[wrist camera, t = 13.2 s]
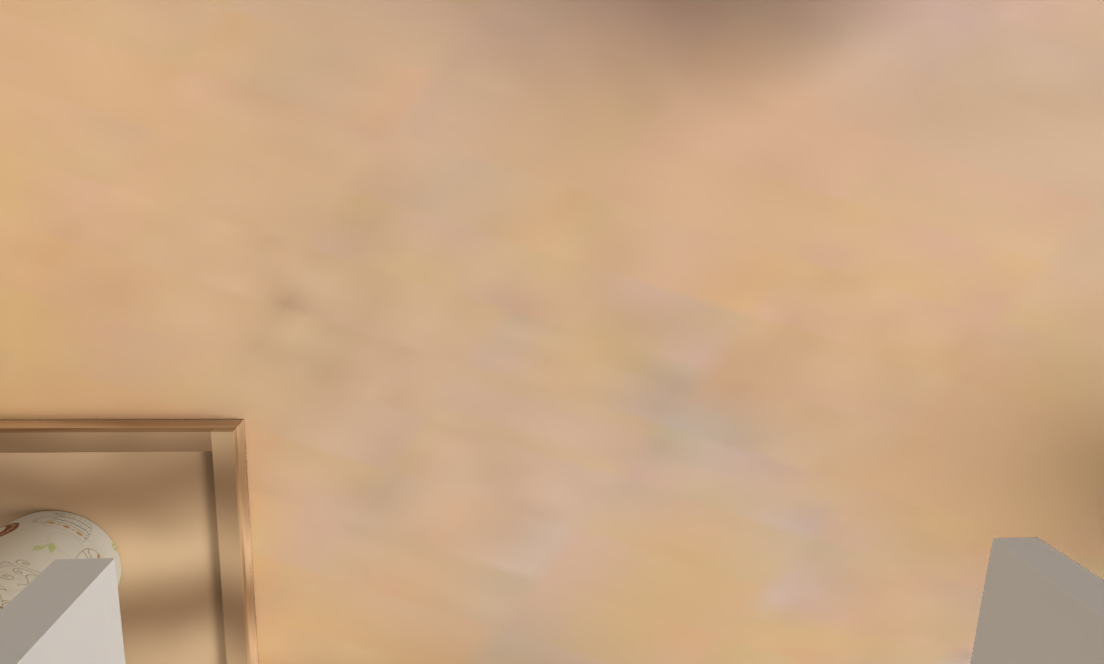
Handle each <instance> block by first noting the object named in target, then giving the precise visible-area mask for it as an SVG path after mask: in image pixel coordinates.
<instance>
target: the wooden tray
mask: <svg viewBox="0 0 1104 664" xmlns="http://www.w3.org/2000/svg"><path fill="white" fill-rule="evenodd" d="M41 511H63V512H68V513H73V514H76V515H79V516H82V517H84V518H86V519H88V520H90V521H92V522H93V523H95V524H96V525H97V526H99V527H100V528H101V529H102V530H103V531H104V532H106V534H107V535H108V536H109V537H110V538H111V540H112V541H113V543H114V544H115V546H116V548H117V551H118V553H119V556H120V561H121V578H120V582H119V585H118V595H119V605H120V615H121V624H122V634H123V644H124V654H125V664H258V651H257V633H256V616H255V599H254V582H253V564H252V547H251V530H250V513H249V495H248V478H247V461H246V444H245V427H244V419H184V420H0V528H1V527H3V526H5V525H6V524H8V523H10V522H12V521H14V520H16V519H18V518H20V517H23V516H25V515H28V514H32V513H36V512H41Z"/></svg>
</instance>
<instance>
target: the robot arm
mask: <svg viewBox="0 0 1104 664" xmlns="http://www.w3.org/2000/svg"><path fill="white" fill-rule="evenodd" d="M0 664H125V654H124V644H123V634H122V624H121V615H120V605H119V595H118V585H117V576H116V566H115V558H93V559H55V560H54V561H53V562H52V563H51V564H50V565H49V566H48V567H47V568H46V569H44V570H43V571H42V572H41V573H40V574H39V575H38V576H37V577H36V578H35V579H34V580H33V581H32V582H30V583H29V584H28V585H27V586H26V587H25V588H24V589H23V590H22V591H21V592H20V593H19V594H18V595H16V596H15V597H14V598H13V599H12V600H11V601H10V602H9V603H8V604H7V605H6V606H5V607H4V608H2V609H1V610H0ZM971 664H1104V580H1103V579H1101V578H1100V577H1098V576H1097V575H1095V574H1093V573H1092V572H1090V571H1089V570H1087V569H1086V568H1084V567H1083V566H1081V565H1080V564H1078V563H1076V562H1075V561H1073V560H1072V559H1070V558H1069V557H1067V556H1066V555H1064V554H1062V553H1061V552H1059V551H1058V550H1056V549H1055V548H1053V547H1052V546H1050V545H1049V544H1047V543H1045V542H1044V541H1042V540H1041V539H1039V538H1038V537H1029V538H993V542H992V547H991V553H990V558H989V564H988V569H987V575H986V580H985V586H984V592H983V597H982V603H981V608H980V614H979V619H978V625H977V631H976V636H975V642H974V647H973V653H972V658H971Z"/></svg>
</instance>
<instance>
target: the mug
mask: <svg viewBox="0 0 1104 664" xmlns="http://www.w3.org/2000/svg"><path fill="white" fill-rule="evenodd" d="M93 558H115V566H116V576H117V585H119V582H120V578H121V561H120V556H119V553H118V551H117V548H116V546H115V544H114V543H113V541H112V540H111V538H110V537H109V536H108V535H107V534H106V532H104V531H103V530H102V529H101V528H100V527H99V526H97V525H96V524H95V523H93V522H92V521H90V520H88V519H86V518H84V517H82V516H79V515H76V514H73V513H68V512H63V511H41V512H36V513H32V514H28V515H25V516H23V517H20V518H18V519H16V520H14V521H12V522H10V523H8V524H6V525H5V526H3V527H1V528H0V610H1V609H2V608H4V607H5V606H6V605H7V604H8V603H9V602H10V601H11V600H12V599H13V598H14V597H15V596H16V595H18V594H19V593H20V592H21V591H22V590H23V589H24V588H25V587H26V586H27V585H28V584H29V583H30V582H32V581H33V580H34V579H35V578H36V577H37V576H38V575H39V574H40V573H41V572H42V571H43V570H44V569H46V568H47V567H48V566H49V565H50V564H51V563H52V562H53V561H54V560H55V559H93Z"/></svg>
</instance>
